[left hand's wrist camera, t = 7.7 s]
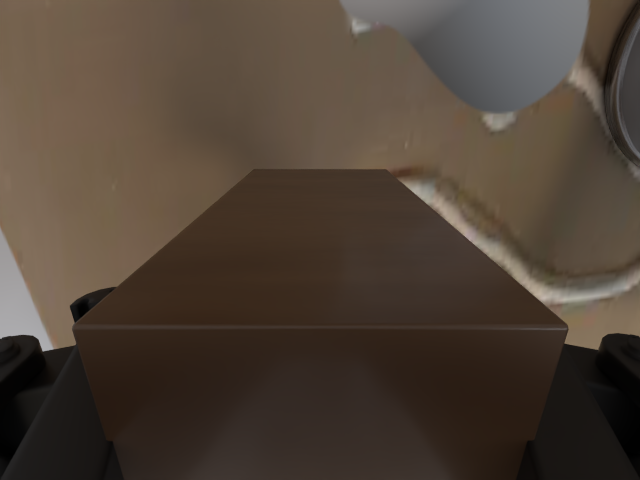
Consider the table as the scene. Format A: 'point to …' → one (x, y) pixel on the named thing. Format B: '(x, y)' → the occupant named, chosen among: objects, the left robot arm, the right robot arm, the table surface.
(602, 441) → the left robot arm
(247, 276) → the box
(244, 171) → the table surface
